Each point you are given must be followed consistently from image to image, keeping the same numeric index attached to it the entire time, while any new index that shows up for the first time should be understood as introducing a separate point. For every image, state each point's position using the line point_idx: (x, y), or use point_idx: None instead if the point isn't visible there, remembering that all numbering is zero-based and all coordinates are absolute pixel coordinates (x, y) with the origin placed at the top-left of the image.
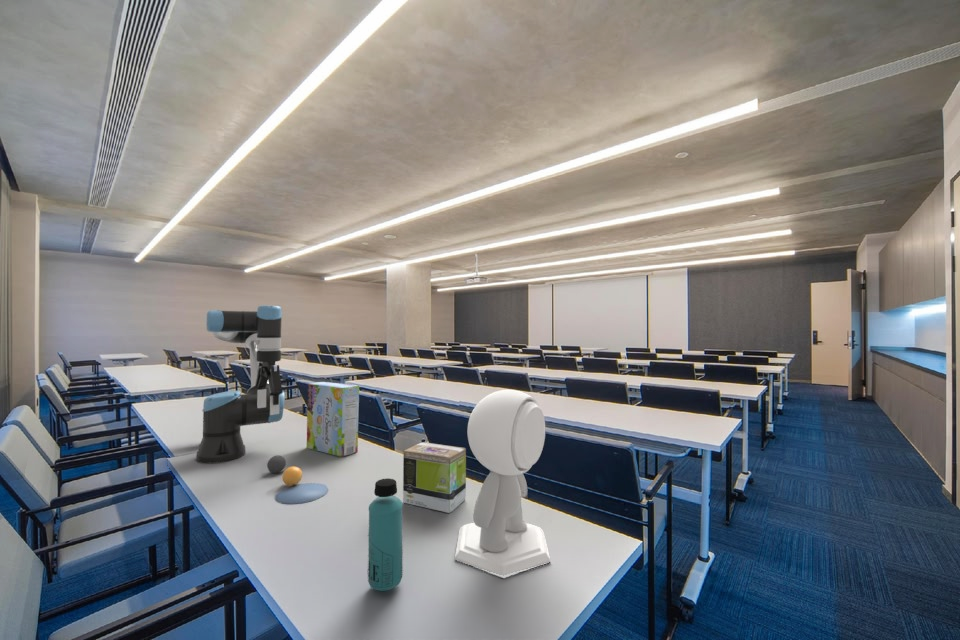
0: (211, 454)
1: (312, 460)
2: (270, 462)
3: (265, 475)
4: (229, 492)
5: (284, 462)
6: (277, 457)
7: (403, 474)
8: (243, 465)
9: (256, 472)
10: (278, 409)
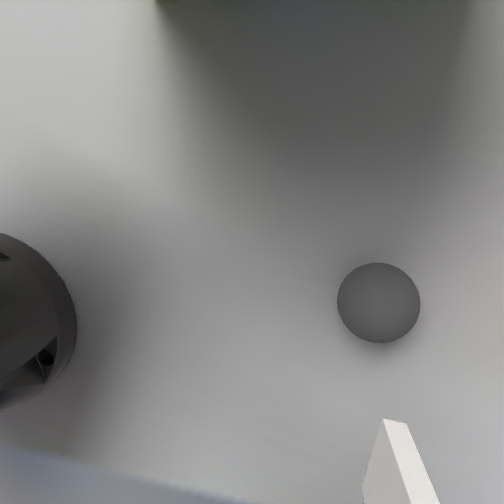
0: (33, 394)
1: (367, 99)
2: (386, 341)
3: None
4: None
5: (415, 287)
6: (402, 322)
7: None
8: (173, 318)
9: (297, 331)
10: (416, 466)
